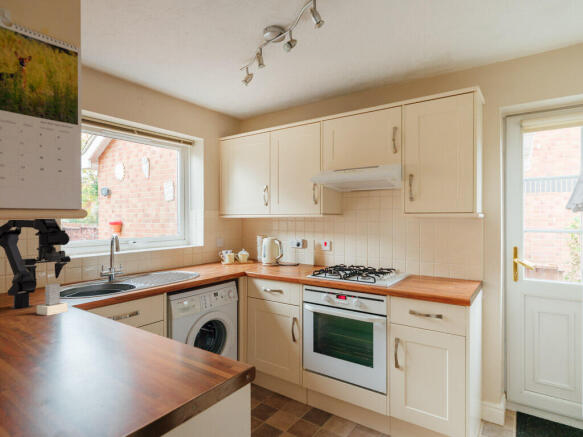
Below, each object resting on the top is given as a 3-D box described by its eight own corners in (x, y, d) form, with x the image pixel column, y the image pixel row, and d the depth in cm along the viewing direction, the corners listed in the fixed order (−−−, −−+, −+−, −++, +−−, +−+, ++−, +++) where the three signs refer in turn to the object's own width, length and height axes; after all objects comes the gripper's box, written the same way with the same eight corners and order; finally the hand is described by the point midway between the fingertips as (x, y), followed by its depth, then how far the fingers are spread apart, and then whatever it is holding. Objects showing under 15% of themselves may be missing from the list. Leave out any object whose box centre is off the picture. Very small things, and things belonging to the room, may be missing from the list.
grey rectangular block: (43, 313, 142) (43, 284, 143) (54, 310, 146) (55, 283, 147) (49, 314, 141) (50, 285, 141) (61, 311, 145) (61, 283, 145)
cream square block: (36, 313, 142) (36, 305, 142) (57, 309, 149) (57, 301, 149) (47, 315, 138) (47, 306, 138) (67, 311, 145) (67, 303, 145)
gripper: (32, 246, 141) (32, 283, 141) (77, 244, 158) (77, 277, 157) (18, 246, 146) (18, 282, 146) (63, 244, 163) (63, 276, 162)
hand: (45, 279), depth 153 cm, fingers open, 9 cm apart
